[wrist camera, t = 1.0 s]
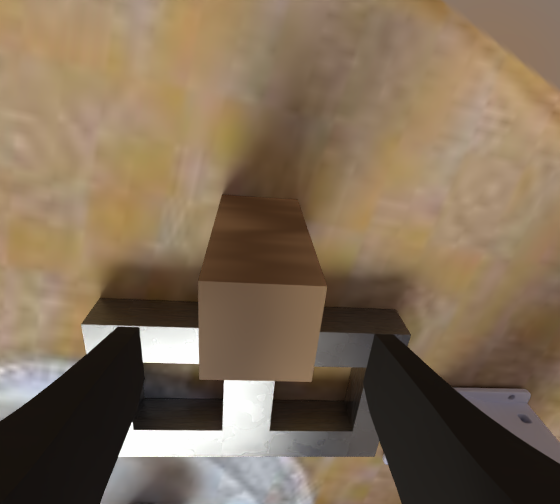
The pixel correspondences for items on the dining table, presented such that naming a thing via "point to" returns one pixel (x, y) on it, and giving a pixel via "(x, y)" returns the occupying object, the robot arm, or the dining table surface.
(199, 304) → the peg
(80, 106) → the dining table surface
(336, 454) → the grey flat frame
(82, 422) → the robot arm
